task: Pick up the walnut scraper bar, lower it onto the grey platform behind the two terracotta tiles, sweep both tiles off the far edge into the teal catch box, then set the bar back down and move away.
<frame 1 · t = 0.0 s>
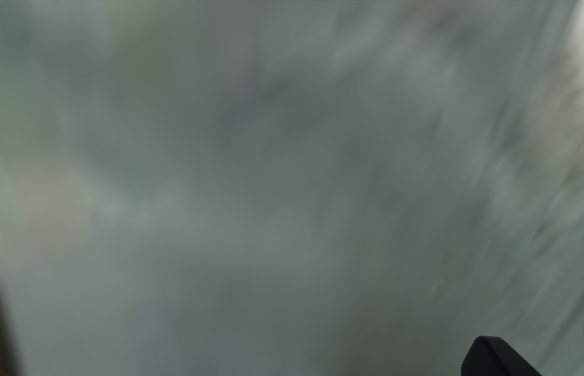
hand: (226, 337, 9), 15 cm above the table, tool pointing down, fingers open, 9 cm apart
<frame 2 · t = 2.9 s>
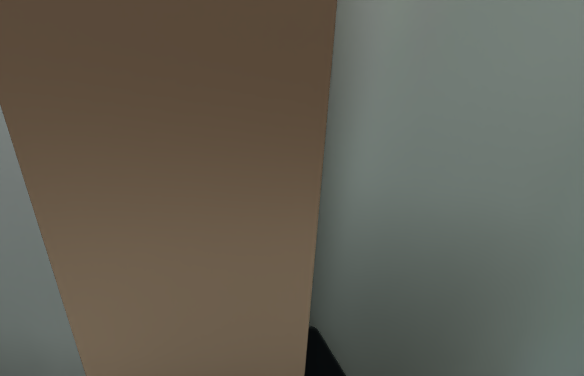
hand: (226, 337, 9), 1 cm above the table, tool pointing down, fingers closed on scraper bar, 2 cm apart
scraper bar: (228, 285, 10), on the table, touching gripper
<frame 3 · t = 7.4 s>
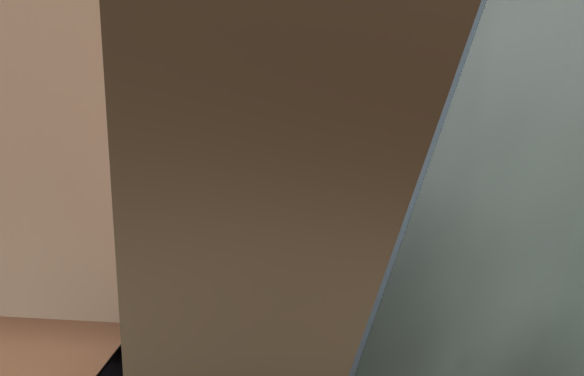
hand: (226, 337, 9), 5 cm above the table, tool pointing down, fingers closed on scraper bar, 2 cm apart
tile a: (65, 373, 11), point 3 cm above the table
scraper bar: (229, 291, 9), point 4 cm above the table, touching gripper
platform: (124, 175, 12), on the table
tile b: (18, 79, 8), point 3 cm above the table
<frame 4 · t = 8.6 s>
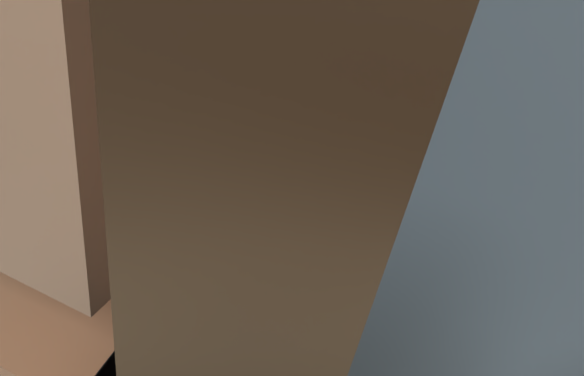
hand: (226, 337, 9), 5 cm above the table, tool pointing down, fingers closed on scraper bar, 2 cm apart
tile a: (92, 351, 12), point 2 cm above the table, tilted 26°, touching catch box
scraper bar: (231, 293, 9), point 4 cm above the table, touching gripper
platform: (400, 200, 13), on the table
tile b: (62, 51, 8), point 2 cm above the table, tilted 26°, touching platform
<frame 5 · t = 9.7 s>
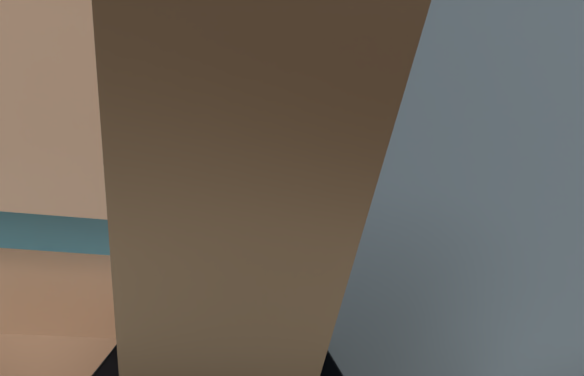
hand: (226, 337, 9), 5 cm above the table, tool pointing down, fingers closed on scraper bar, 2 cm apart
tile a: (94, 324, 13), point 1 cm above the table, touching catch box, scraper bar
scraper bar: (240, 279, 10), point 3 cm above the table, tilted 5°, touching gripper, tile a, tile b
platform: (533, 212, 13), on the table
tile b: (62, 17, 9), point 1 cm above the table, touching catch box, scraper bar
catch box: (34, 168, 12), on the table
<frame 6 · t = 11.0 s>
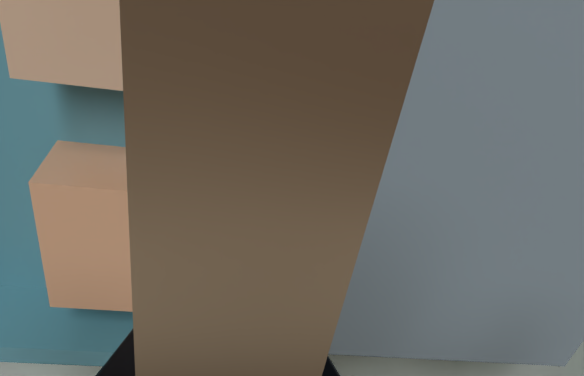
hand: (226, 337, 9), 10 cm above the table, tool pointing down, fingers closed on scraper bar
tile a: (140, 210, 17), point 1 cm above the table, touching catch box
scraper bar: (230, 269, 10), point 8 cm above the table, touching gripper
platform: (481, 128, 18), on the table
catch box: (110, 85, 16), on the table
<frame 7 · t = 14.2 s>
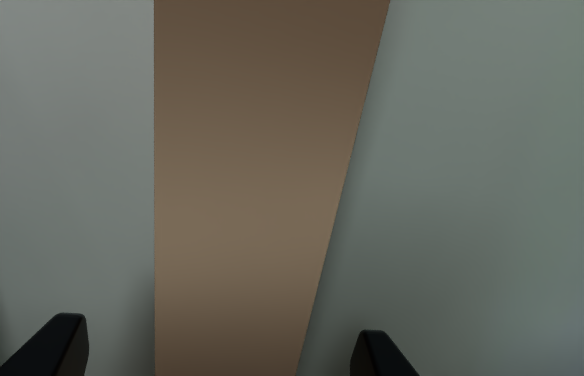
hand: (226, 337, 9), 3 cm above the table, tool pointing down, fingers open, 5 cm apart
scraper bar: (233, 230, 11), on the table
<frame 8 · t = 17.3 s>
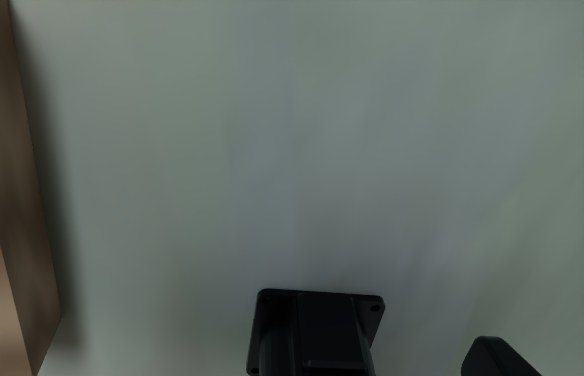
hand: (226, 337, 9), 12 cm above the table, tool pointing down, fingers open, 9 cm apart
scraper bar: (16, 181, 21), on the table
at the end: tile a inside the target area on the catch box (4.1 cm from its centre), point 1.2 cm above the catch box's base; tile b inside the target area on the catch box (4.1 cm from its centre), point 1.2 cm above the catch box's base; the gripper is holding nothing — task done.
